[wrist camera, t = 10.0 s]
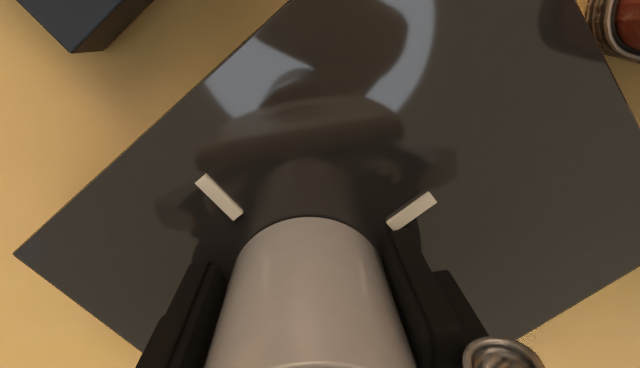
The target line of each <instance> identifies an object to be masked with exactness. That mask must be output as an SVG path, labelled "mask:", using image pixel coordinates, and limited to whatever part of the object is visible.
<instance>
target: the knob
mask: <svg viewBox="0 0 640 368" xmlns="http://www.w3.org/2000/svg"><path fill="white" fill-rule="evenodd" d="M204 368H418V366H417V363H416V360H415V357H414V354H413V351H412V348H411V346H410V343H409V340H408V337H407V334H406V331H405V328H404V325H403V323H402V320H401V317H400V314H399V311H398V308H397V305H396V302H395V299H394V297H393V294H392V291H391V288H390V285H389V282H388V279H387V276H386V273H385V271H384V268H383V265H382V262H381V259H380V257H379V255H378V253H377V251H376V250H375V248H374V247H373V246H372V244H371V243H370V242H369V241H368V240H367V239H366V238H365V237H364V236H363V235H362V234H360V233H359V232H358V231H356V230H355V229H353V228H351V227H349V226H347V225H345V224H343V223H340V222H338V221H334V220H330V219H327V218H319V217H300V218H293V219H288V220H284V221H281V222H278V223H276V224H273V225H271V226H269V227H267V228H265V229H264V230H262V231H261V232H259V233H258V234H256V235H255V236H254V237H253V238H252V239H251V240H250V241H249V242H248V243H247V244H246V245H245V246H244V247H243V249H242V250H241V252H240V253H239V255H238V257H237V259H236V261H235V264H234V267H233V270H232V274H231V277H230V280H229V284H228V287H227V291H226V294H225V297H224V301H223V304H222V307H221V311H220V314H219V318H218V321H217V324H216V328H215V331H214V335H213V338H212V341H211V345H210V348H209V351H208V355H207V358H206V362H205V365H204Z"/></svg>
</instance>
